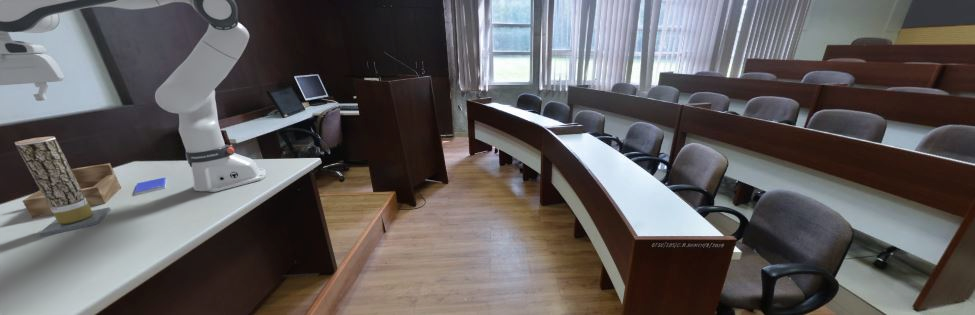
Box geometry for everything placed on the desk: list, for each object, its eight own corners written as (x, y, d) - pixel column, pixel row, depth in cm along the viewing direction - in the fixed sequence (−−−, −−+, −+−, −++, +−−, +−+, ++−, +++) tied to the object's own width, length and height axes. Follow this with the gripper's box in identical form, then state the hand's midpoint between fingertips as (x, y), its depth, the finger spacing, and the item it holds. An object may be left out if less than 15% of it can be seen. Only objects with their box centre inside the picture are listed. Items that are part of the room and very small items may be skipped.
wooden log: (68, 226, 94) (23, 143, 85) (52, 224, 95) (7, 142, 87) (99, 214, 100) (61, 136, 91) (84, 212, 101) (45, 136, 93)
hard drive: (164, 185, 120) (165, 177, 129) (133, 192, 115) (136, 183, 124) (166, 189, 121) (167, 180, 130) (135, 196, 116) (138, 186, 124)
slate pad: (110, 209, 105) (109, 207, 105) (97, 224, 96) (95, 221, 96) (59, 220, 99) (58, 217, 99) (40, 236, 91) (38, 233, 90)
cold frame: (121, 187, 123) (110, 163, 119) (105, 203, 110) (92, 176, 107) (57, 199, 114) (43, 173, 111) (32, 217, 102) (15, 189, 98)
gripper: (-99, 49, 73) (-62, 109, 78) (40, 45, 84) (66, 99, 88) (-76, 49, 78) (-42, 106, 83) (53, 46, 89) (76, 96, 93)
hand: (15, 102), depth 86 cm, fingers open, 8 cm apart
